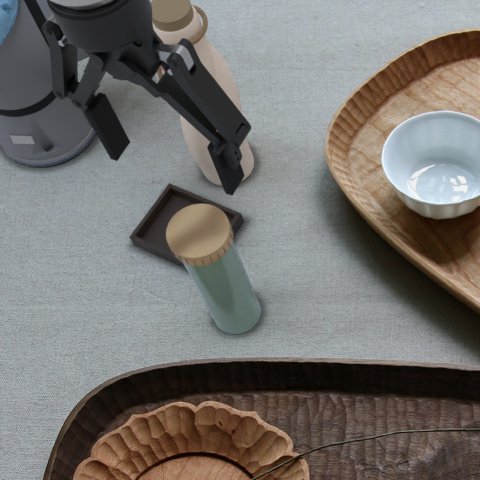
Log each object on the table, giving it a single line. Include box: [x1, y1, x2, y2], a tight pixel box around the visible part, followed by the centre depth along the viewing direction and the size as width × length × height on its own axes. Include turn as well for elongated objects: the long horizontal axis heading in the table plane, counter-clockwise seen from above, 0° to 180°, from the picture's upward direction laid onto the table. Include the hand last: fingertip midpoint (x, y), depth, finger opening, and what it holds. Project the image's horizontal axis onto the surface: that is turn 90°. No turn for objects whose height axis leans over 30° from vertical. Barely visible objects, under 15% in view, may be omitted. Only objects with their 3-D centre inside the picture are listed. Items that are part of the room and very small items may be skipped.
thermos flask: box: [183, 240, 262, 335], centre depth 101 cm, size 6×6×19 cm
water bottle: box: [150, 0, 255, 187], centre depth 106 cm, size 10×9×28 cm
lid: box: [166, 204, 234, 266], centre depth 92 cm, size 7×7×2 cm
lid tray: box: [128, 183, 245, 269], centre depth 114 cm, size 12×10×2 cm
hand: (177, 167), depth 83 cm, fingers open, 13 cm apart
